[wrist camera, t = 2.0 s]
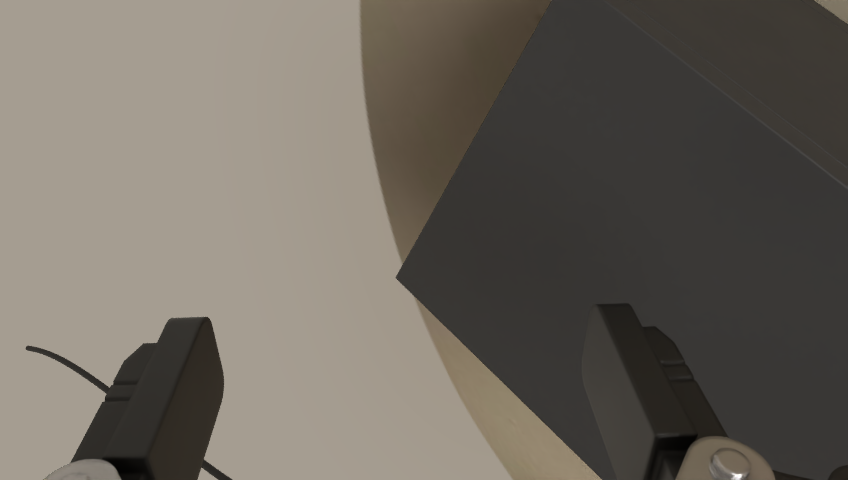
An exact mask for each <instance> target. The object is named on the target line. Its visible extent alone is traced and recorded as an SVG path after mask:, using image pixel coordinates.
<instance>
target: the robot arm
mask: <svg viewBox="0 0 848 480" xmlns="http://www.w3.org/2000/svg"><path fill="white" fill-rule="evenodd" d="M26 350H28V351H33V352H37V353H40V354H43V355H46V356H48V357H51V358H53V359H55V360H57V361H59V362H61V363H62V364H64V365H66V366H67V367H69V368H71V369H73V370H74V371H76V372H77V373H79V374H80V375H82V376H83V377H84V378H86V379H88V380H89V381H90V382H92V383H93V384H94V385H96V386H97V387H98V388H100V389H101V390H102V391H104V392H105V393H106V394H107V395H106V396H105V402H102V404H101V406H100V408H99V410H98V412H97V413H96V415H95V417H94V419H93V421H92V423H91V425H90V427H89V429H88V430H87V432H86V434H85V436H84V438H83V440H82V442H81V444H80V446H79V448H78V449H77V451H76V454H75V455H74V457H73V459H72V461H71V463H70V464H67V465H65V466H63V467H61V468H59V469H57V470H55V471H54V472H52V473H51V474H50V475H48V476H47V477H46V478H45V479H43V480H197V479H198V476H199V472H200V469H201V467H202V468H203V469H204V470H206V471H207V472H209V473H210V474H211V475H213V476H214V477H215V478H217V479H218V480H232V479H231V478H229V477H227V476H226V475H225V474H223V473H222V472H220V471H219V470H217V469H216V468H215V467H213V466H212V465H211V464H209V463H208V462H206V461H205V460H204V456H205V453H206V450H207V447H208V444H209V441H210V437H211V434H212V431H213V428H214V425H215V421H216V418H217V415H218V412H219V408H220V405H221V402H222V398H223V391H224V376H223V370H222V365H221V361H220V357H219V353H218V348H217V344H216V339H215V335H214V332H213V327H212V323H211V321H210V319H209V318H208V317H190V318H171V319H169V320H168V322H167V323H166V325H165V327H164V329H163V332H162V334H161V336H160V338H159V340H158V342H157V343H146V344H143V345H142V346H140V347H139V348H138V349H137V350H136V351H135V352H134V353H133V354H132V355H130V356H129V357H128V358H127V359H126V360H125V361H124V362H123V364H122V366H121V368H120V370H119V372H118V374H117V376H116V377H115V380H114V381H113V382H114V384H113V385H111V387H110V388H109V387H108V386H106V385H105V384H104V383H102V382H101V381H99V380H98V379H96V378H95V377H94V376H92V375H91V374H89V373H88V372H86V371H85V370H83V369H82V368H80V367H79V366H77V365H75V364H74V363H72V362H70V361H69V360H67V359H65V358H63V357H61V356H59V355H57V354H54V353H52V352H50V351H47V350H44V349H41V348H37V347H32V346H27V347H26ZM582 379H583V384H584V388H585V391H586V393H587V396H588V399H589V402H590V405H591V408H592V410H593V413H594V416H595V419H596V422H597V425H598V427H599V430H600V433H601V436H602V439H603V442H604V444H605V447H606V450H607V453H608V456H609V458H610V461H611V464H612V467H613V470H614V473H615V475H616V478H617V480H812V479H808V478H804V477H799V476H795V475H790V474H786V473H782V472H778V471H775V470H772V469H771V467H770V465H769V464H768V463H767V461H766V460H765V459H764V458H763V457H762V456H761V455H760V454H759V453H758V452H756V451H755V450H754V449H752V448H751V447H749V446H747V445H746V444H744V443H742V442H739V441H737V440H734V439H731V438H729V437H728V435H727V434H726V432H725V430H724V428H723V427H722V425H721V423H720V421H719V420H718V418H717V416H716V414H715V412H714V411H713V409H712V407H711V405H710V404H709V402H708V400H707V398H706V397H705V395H704V393H703V391H702V390H701V388H700V386H699V384H698V383H697V381H696V380H694V376H693V374H692V372H691V370H690V369H689V367H688V365H686V364H685V360H684V358H683V356H682V355H681V353H680V351H679V349H678V347H677V346H676V344H675V342H674V341H672V340H671V339H670V338H669V337H668V336H666V335H665V334H664V333H663V332H662V331H660V330H659V329H658V328H657V327H656V326H650V327H642V325H641V323H640V321H639V319H638V317H637V315H636V314H635V312H634V310H633V308H632V306H631V305H630V304H629V303H616V304H593V305H592V306H591V308H590V312H589V318H588V324H587V330H586V336H585V342H584V348H583V354H582ZM828 480H848V465H845V466H841V467H838V468H836V469H835V470H834V471H833V472H832V473H831V474H830V476H829V478H828Z"/></svg>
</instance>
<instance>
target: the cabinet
mask: <svg viewBox="0 0 848 480" xmlns="http://www.w3.org/2000/svg"><path fill="white" fill-rule="evenodd" d="M396 279H397V280H398V281H399V282H400V283H401V284H402V285H404V286H405V288H407V289H408V290H409V291H410V292H411V293H412V294H413V295H414V296H415V297H416V298H417V299H418V300H419V301H420V302H421V303H422V304H423V305H424V306H425V307H426V308H427V309H428V310H429V311H430V312H431V313H432V314H433V315H434V316H435V317H436V318H437V319H438V320H439V321H440V322H441V323H442V324H443V325H444V326H445V327H446V328H447V329H449V330H450V331H451V332H452V333H453V334H454V335H455V336H456V337H457V338H458V339H459V340H460V341H461V342H462V343H463V344H464V345H465V346H466V347H467V348H468V349H469V350H470V351H471V352H472V353H473V354H474V355H475V356H476V357H477V358H478V359H479V360H480V361H481V362H482V363H483V364H484V365H485V366H486V367H487V368H488V369H490V370H491V371H492V372H493V373H494V374H495V375H496V376H497V377H498V378H499V379H500V380H501V381H502V382H503V383H504V384H505V385H506V386H507V387H508V388H509V389H510V390H511V391H512V392H513V393H514V394H515V395H516V396H517V397H518V398H519V399H520V400H521V401H522V402H523V403H524V404H525V405H526V406H527V407H528V408H529V409H530V410H532V411H533V412H534V413H535V414H536V415H537V416H538V417H539V418H540V419H541V420H542V421H543V422H544V423H545V424H546V425H547V426H548V427H549V428H550V429H551V430H552V431H553V432H554V433H555V434H556V435H557V436H558V437H559V438H560V439H561V440H562V441H563V442H564V443H565V444H566V445H567V446H568V447H569V448H570V449H571V450H573V451H574V452H575V453H576V454H577V455H578V456H579V457H580V458H581V459H582V460H583V461H584V462H585V463H586V464H587V465H588V466H589V467H590V468H591V469H592V470H593V471H594V472H595V473H596V474H597V475H598V476H599V477H600V478H601V479H602V480H617V478H616V475H615V473H614V470H613V467H612V464H611V461H610V458H609V456H608V453H607V450H606V447H605V444H604V442H603V439H602V436H601V433H600V430H599V427H598V425H597V422H596V419H595V416H594V413H593V410H592V408H591V405H590V402H589V399H588V396H587V393H586V391H585V388H584V384H583V379H582V354H583V348H584V342H585V336H586V330H587V324H588V318H589V312H590V308H591V306H592V305H593V304H616V303H629V304H630V305H631V306H632V308H633V310H634V312H635V314H636V315H637V317H638V319H639V321H640V323H641V325H642V327H650V326H656V327H657V328H658V329H659V330H660V331H662V332H663V333H664V334H665V335H666V336H668V337H669V338H670V339H671V340H672V341H674V342H675V344H676V346H677V347H678V349H679V351H680V353H681V355H682V356H683V358H684V360H685V364H686V365H688V367H689V369H690V370H691V372H692V374H693V376H694V380H696V381H697V383H698V384H699V386H700V388H701V390H702V391H703V393H704V395H705V397H706V398H707V400H708V402H709V404H710V405H711V407H712V409H713V411H714V412H715V414H716V416H717V418H718V420H719V421H720V423H721V425H722V427H723V428H724V430H725V432H726V434H727V435H728V437H729V438H731V439H734V440H737V441H739V442H742V443H744V444H746V445H747V446H749V447H751V448H752V449H754V450H755V451H756V452H758V453H759V454H760V455H761V456H762V457H763V458H764V459H765V460H766V461H767V463H768V464H769V465H770V467H771V469H772V470H775V471H778V472H782V473H786V474H790V475H795V476H799V477H804V478H808V479H812V480H828V478H829V476H830V474H831V473H832V472H833V471H834V470H835V469H836V468H838V467H841V466H845V465H848V24H846V23H845V22H844V21H842V20H841V19H839V18H838V17H837V16H835V15H834V14H832V13H831V12H830V11H828V10H827V9H825V8H824V7H822V6H821V5H820V4H818V3H817V2H815V1H814V0H552V1H551V3H550V5H549V6H548V8H547V10H546V12H545V13H544V15H543V17H542V19H541V20H540V22H539V24H538V26H537V28H536V29H535V31H534V33H533V35H532V36H531V38H530V40H529V42H528V44H527V45H526V47H525V49H524V51H523V52H522V54H521V56H520V58H519V60H518V61H517V63H516V65H515V67H514V68H513V70H512V72H511V74H510V75H509V77H508V79H507V81H506V83H505V84H504V86H503V88H502V90H501V91H500V93H499V95H498V97H497V99H496V100H495V102H494V104H493V106H492V107H491V109H490V111H489V113H488V114H487V116H486V118H485V120H484V122H483V123H482V125H481V127H480V129H479V130H478V132H477V134H476V136H475V138H474V139H473V141H472V143H471V145H470V146H469V148H468V150H467V152H466V154H465V155H464V157H463V159H462V161H461V162H460V164H459V166H458V168H457V169H456V171H455V173H454V175H453V177H452V178H451V180H450V182H449V184H448V185H447V187H446V189H445V191H444V193H443V194H442V196H441V198H440V200H439V201H438V203H437V205H436V207H435V209H434V210H433V212H432V214H431V216H430V217H429V219H428V221H427V223H426V224H425V226H424V228H423V230H422V232H421V233H420V235H419V237H418V239H417V240H416V242H415V244H414V246H413V248H412V249H411V251H410V253H409V255H408V256H407V258H406V260H405V262H404V263H403V265H402V267H401V269H400V271H399V272H398V274H397V276H396Z"/></svg>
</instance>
